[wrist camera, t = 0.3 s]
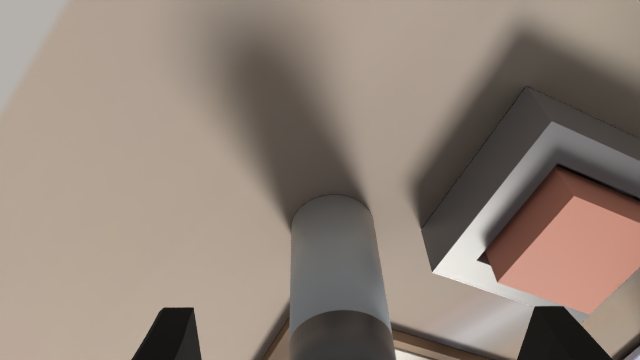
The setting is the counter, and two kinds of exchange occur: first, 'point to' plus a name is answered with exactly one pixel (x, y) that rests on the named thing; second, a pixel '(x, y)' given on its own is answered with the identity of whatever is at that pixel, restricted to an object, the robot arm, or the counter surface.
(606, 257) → the button
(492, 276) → the button housing
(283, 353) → the board
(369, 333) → the cylinder
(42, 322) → the counter surface
